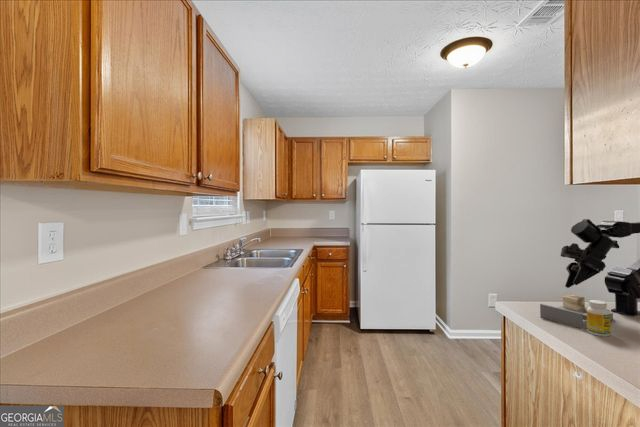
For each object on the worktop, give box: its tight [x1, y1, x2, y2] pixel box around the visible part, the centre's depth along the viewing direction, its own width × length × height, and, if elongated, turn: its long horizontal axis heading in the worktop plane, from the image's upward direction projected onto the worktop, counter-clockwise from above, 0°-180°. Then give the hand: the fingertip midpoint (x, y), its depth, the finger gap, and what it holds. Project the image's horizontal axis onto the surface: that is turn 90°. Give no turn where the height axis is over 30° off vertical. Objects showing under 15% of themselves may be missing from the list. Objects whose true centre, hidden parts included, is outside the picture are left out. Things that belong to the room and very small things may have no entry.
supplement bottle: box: [586, 299, 612, 337], centre depth 95 cm, size 5×5×10 cm
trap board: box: [539, 303, 614, 329], centre depth 108 cm, size 18×12×4 cm
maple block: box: [562, 294, 586, 311], centre depth 113 cm, size 4×4×4 cm
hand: (570, 285), depth 111 cm, fingers open, 9 cm apart
